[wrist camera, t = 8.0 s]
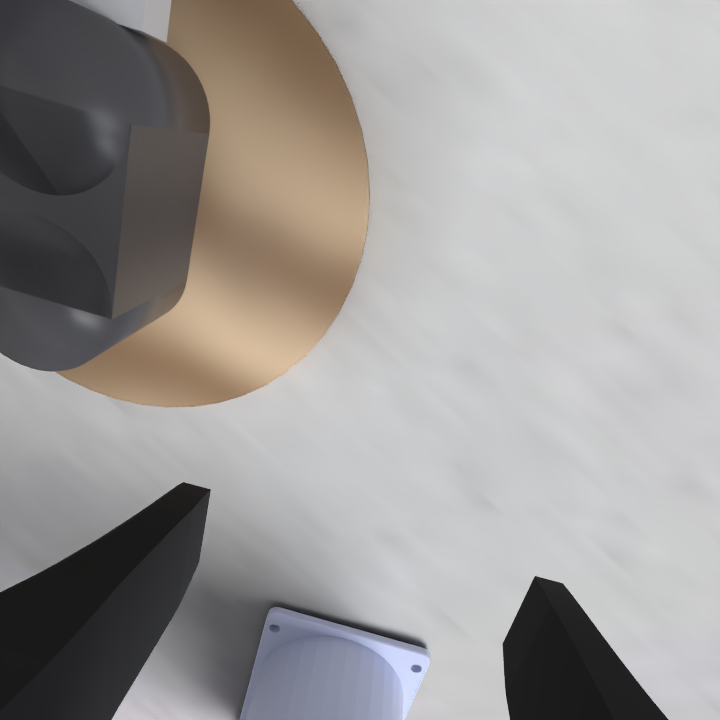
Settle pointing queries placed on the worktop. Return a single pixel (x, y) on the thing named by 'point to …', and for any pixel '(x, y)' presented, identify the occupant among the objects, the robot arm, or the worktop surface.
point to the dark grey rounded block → (93, 175)
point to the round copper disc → (253, 212)
